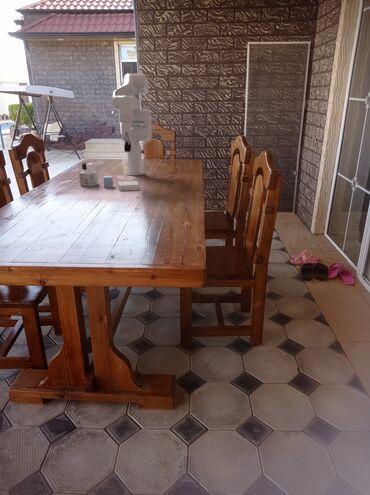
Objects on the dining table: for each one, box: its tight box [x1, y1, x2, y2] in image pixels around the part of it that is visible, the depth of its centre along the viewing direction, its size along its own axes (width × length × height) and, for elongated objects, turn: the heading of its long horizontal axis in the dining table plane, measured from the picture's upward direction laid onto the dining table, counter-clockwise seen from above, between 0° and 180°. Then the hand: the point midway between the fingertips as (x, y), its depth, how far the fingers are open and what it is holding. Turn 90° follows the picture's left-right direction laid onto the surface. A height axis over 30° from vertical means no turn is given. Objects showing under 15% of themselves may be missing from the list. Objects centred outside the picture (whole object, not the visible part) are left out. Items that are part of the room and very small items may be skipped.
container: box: [78, 162, 99, 187], centre depth 222 cm, size 8×8×13 cm
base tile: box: [117, 180, 140, 192], centre depth 215 cm, size 11×11×3 cm
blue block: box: [102, 175, 114, 189], centre depth 219 cm, size 5×5×6 cm
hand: (127, 150), depth 215 cm, fingers open, 9 cm apart
